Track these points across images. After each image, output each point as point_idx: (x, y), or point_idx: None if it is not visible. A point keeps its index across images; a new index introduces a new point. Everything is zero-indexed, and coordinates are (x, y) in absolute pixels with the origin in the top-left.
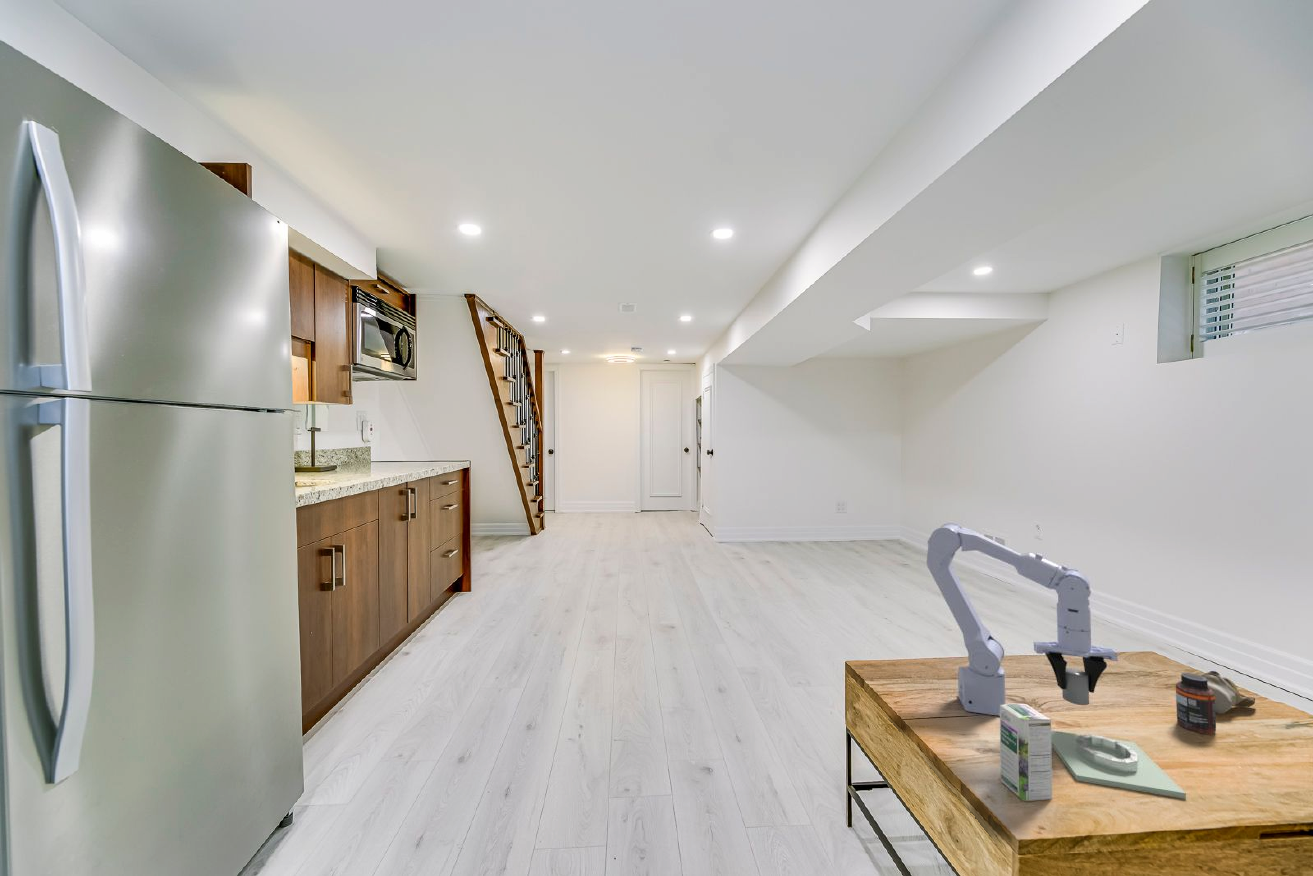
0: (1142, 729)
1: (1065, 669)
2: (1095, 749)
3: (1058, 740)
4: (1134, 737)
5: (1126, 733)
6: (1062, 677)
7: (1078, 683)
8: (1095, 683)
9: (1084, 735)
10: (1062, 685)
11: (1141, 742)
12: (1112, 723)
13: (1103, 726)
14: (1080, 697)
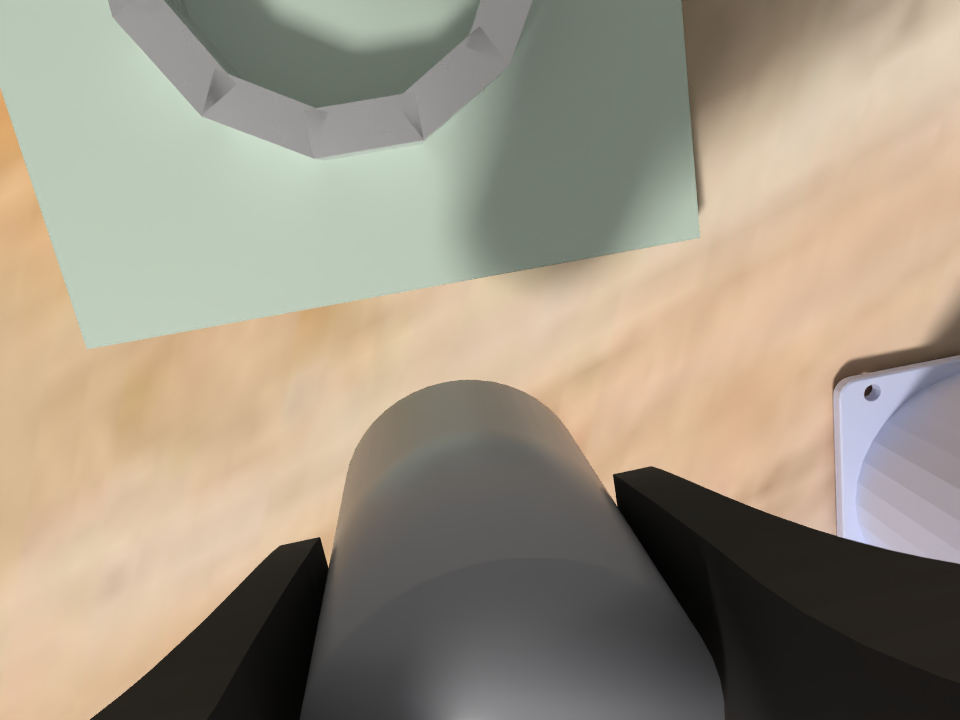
0: (6, 654)
1: (795, 608)
2: (386, 67)
3: (628, 90)
4: (76, 503)
5: (118, 539)
6: (737, 525)
7: (491, 490)
8: (216, 616)
9: (457, 97)
10: (672, 477)
11: (42, 448)
12: None
13: (249, 570)
14: (449, 413)
